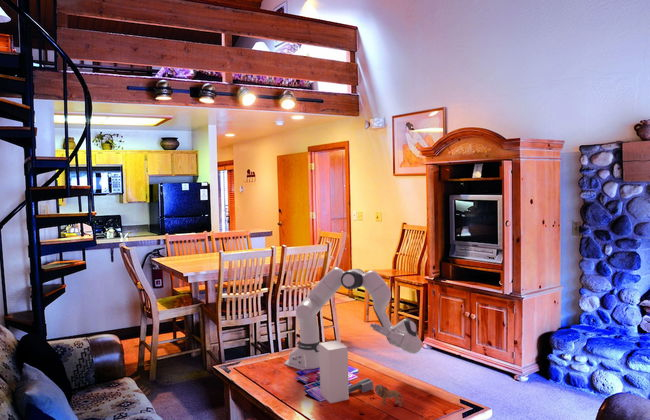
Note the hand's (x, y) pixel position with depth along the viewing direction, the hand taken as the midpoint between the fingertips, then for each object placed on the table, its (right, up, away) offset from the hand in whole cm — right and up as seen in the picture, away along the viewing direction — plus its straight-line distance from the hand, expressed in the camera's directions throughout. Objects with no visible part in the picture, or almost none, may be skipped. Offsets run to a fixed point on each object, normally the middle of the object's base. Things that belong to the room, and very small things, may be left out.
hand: (375, 327), depth 255 cm
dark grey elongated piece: (-11, -29, -4) cm, 31 cm away
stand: (-21, -33, -8) cm, 40 cm away
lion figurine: (+5, -33, -18) cm, 37 cm away
